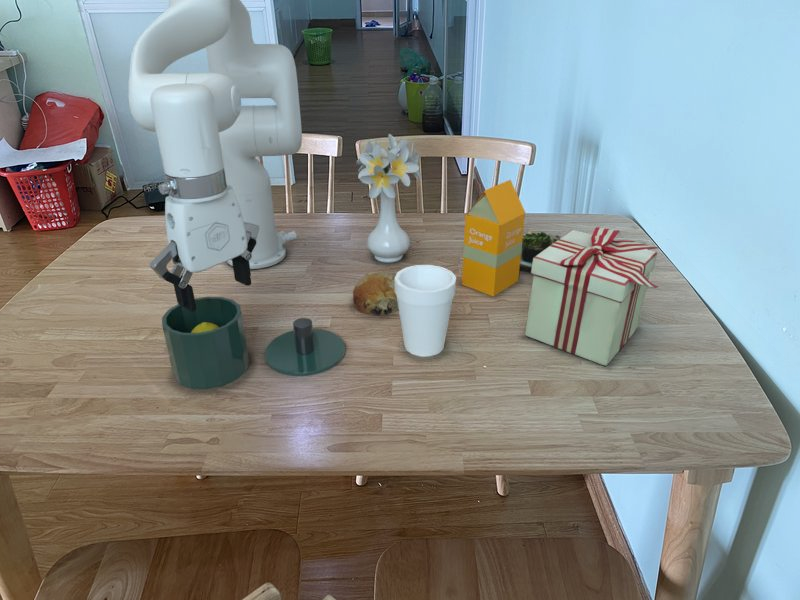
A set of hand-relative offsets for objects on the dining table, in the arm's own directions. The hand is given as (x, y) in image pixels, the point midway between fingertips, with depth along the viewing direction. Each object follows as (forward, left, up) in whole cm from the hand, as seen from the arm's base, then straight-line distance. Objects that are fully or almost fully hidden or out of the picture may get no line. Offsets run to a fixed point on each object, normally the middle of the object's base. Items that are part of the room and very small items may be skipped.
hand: (216, 295), depth 88 cm
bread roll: (-30, +1, -13) cm, 33 cm away
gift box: (-50, +33, -13) cm, 61 cm away
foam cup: (-26, +17, -13) cm, 34 cm away
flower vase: (-45, -13, -13) cm, 49 cm away
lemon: (+2, -1, -13) cm, 13 cm away
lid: (-11, +6, -12) cm, 17 cm away
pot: (+2, -1, -13) cm, 13 cm away
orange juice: (-52, +9, -13) cm, 54 cm away
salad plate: (-69, +9, -13) cm, 71 cm away
